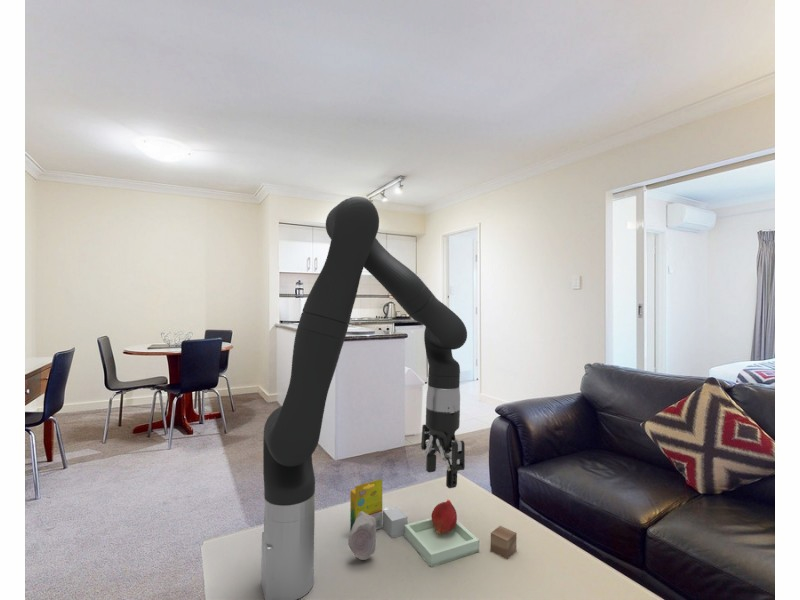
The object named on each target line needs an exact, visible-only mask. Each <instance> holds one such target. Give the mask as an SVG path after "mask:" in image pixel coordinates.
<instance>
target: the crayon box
mask: <svg viewBox="0 0 800 600" xmlns="http://www.w3.org/2000/svg"><path fill="white" fill-rule="evenodd" d="M354 487H355V488H353V489H350V496H349V497H350V509H349V510H350V511H349V512H350V522H349V523H350V525H349V526H350V527H349V528H350V532H351V529H352V527H353V524H354V523H355V521H356V519H357V515H358V514H359V512H361V511H363V512H364V513H365V514H368V515H369V516H371V517H374V518H375V520H376V530H378V529H383V478H379V479H375V480H372V481H368V482H365V483H362V484H358V485H355V486H354Z"/></svg>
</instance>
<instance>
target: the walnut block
mask: <svg viewBox="0 0 800 600" xmlns="http://www.w3.org/2000/svg"><path fill="white" fill-rule="evenodd" d="M489 549H490V553H491V552H492V553H493V554H496V555H497V556H499V557H501V558H504V559H506V560H509V559H510V558H511V557H512V556H513V555H514V554H515V553H516V552H517V532H515V531H514V530H511V529H509V528H506V527H504V526H503V525H498V526H497V527H496V528H495V529H494V530H492V531H491V532H490V548H489Z"/></svg>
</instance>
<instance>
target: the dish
mask: <svg viewBox="0 0 800 600" xmlns="http://www.w3.org/2000/svg"><path fill="white" fill-rule="evenodd" d="M403 536H404V537H405V539H407V540H408V542H409V543H410V545H412V547H413V548H414V549H415V550H416V552H418V554H419V555H420V556H421V557H422V559H424V560H425V562H426V563H427V564H428V565H429V567H431V568H433V567H437V566H439V565H442V564H446V563H449V562H451V561H454V560H457V559H461V558H463V557H466V556H470V555H473V554H476V553H480V539H479V538H478V537H476V536H475V535H474V534H473V533H472V532H471V531H470V530H469V529H467V528H466V527H465V526H464V525H463V524H462V523H460V521H458V520H457V522H456V525H455V527H454V528H453V529H452V530H451V531H449V532H446V533H441V534H439V533H437V531H436V529H435V527H434V525H433V522H432V517H429V518H426V519H421V520H417V521H414V522H411V523H408V524H406V525H405V532H404V535H403Z"/></svg>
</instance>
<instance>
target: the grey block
mask: <svg viewBox="0 0 800 600" xmlns="http://www.w3.org/2000/svg"><path fill="white" fill-rule="evenodd" d="M382 516H383V517H382V518H383V519H382V520H383V521H382V525H383V527H382V529H384V530H385V532H386V533H387V534H388V535H389V537H390V538H391V539H393V538H397V537H400V536H404V532H405V525H406V524H409V523H408V515H406V513H404V512H403V511H402V510H401V508H400V507H399V506H396V507H392V508H388V509H387V508H386V509H382Z"/></svg>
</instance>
